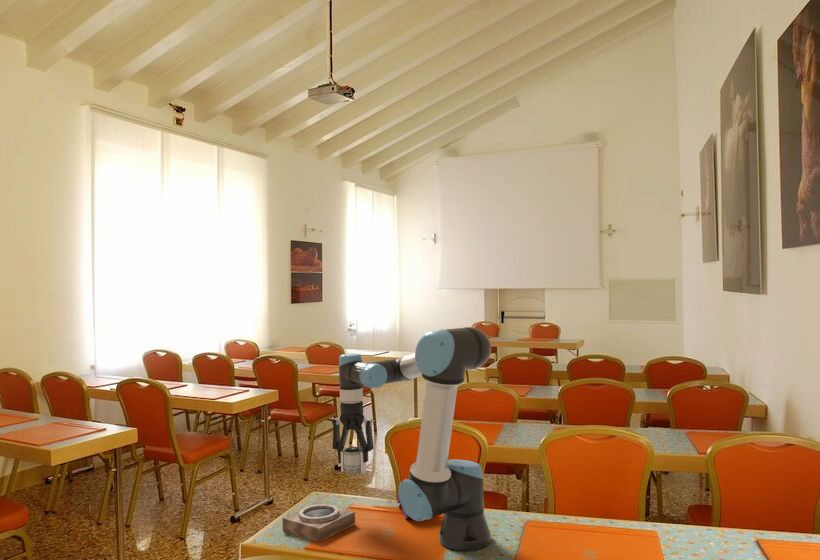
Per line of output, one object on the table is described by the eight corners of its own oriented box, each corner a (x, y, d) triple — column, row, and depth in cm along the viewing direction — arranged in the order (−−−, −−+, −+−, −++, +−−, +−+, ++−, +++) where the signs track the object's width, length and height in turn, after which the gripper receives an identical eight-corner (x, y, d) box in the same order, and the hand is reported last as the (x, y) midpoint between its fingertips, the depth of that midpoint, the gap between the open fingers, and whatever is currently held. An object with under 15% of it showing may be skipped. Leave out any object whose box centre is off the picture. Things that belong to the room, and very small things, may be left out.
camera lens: (362, 468, 211) (361, 445, 211) (364, 474, 205) (363, 449, 205) (343, 470, 210) (342, 446, 210) (344, 475, 203) (344, 451, 203)
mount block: (355, 524, 201) (354, 508, 201) (319, 542, 188) (318, 524, 188) (319, 514, 210) (318, 499, 210) (282, 530, 197) (282, 514, 197)
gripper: (382, 399, 208) (385, 469, 208) (329, 398, 214) (331, 466, 214) (374, 404, 201) (377, 476, 201) (319, 402, 206) (322, 472, 206)
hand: (353, 471), depth 207 cm, fingers closed on camera lens, 6 cm apart
